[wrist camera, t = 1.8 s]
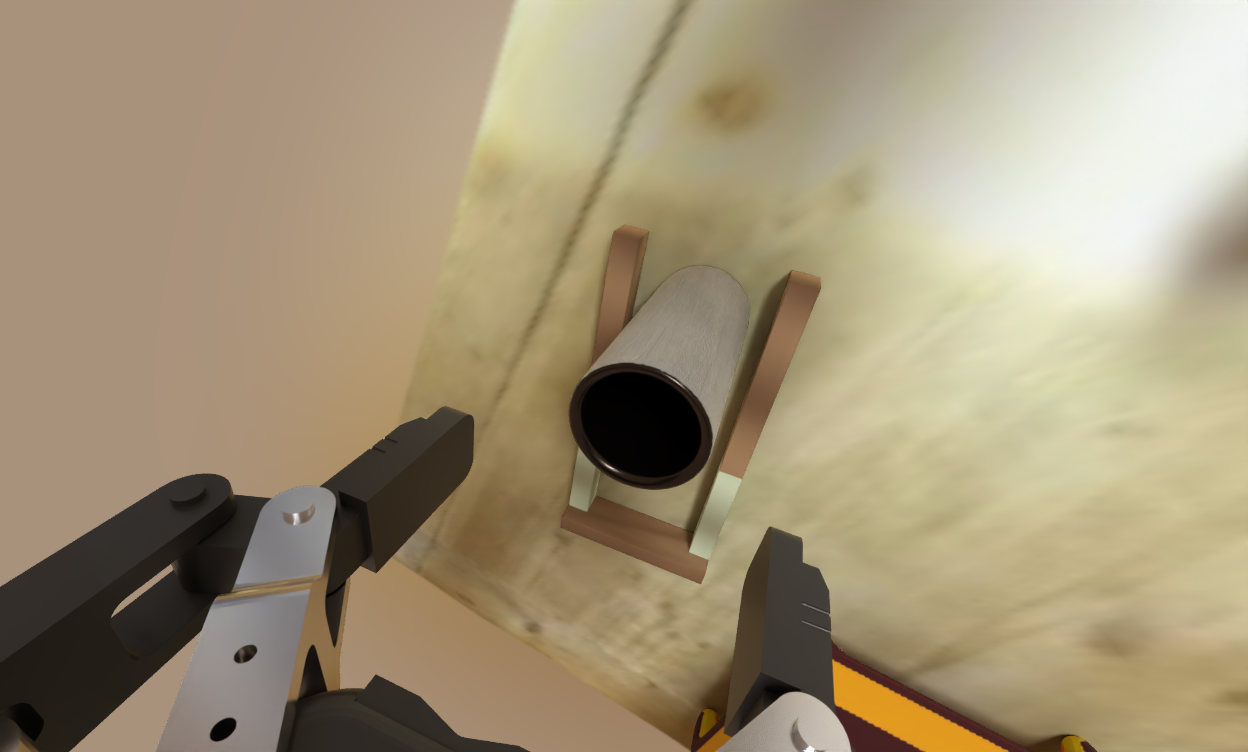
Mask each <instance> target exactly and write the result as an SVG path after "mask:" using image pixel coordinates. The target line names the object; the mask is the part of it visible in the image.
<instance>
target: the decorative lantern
mask: <svg viewBox="0 0 1248 752" xmlns="http://www.w3.org/2000/svg"><path fill="white" fill-rule="evenodd" d="M830 635H831V634H830ZM831 641H832V661H833V681H834V701H835V710H836V714H837V718H838V719H839V721H840V723H841V724H842V726H843V728H844V730H845V732H846V734H847V737H848V740H849V742H850V744H851V745H852V747H853V748H854V749H855V751H856V752H1032V751H1030V750H1028V749H1026V748H1024V747H1022V746H1020V745H1018V744H1016V743H1014V742H1012V741H1010V740H1008V739H1006V738H1005V737H1003V736H1001V735H999V734H997V733H995V732H993V731H991V730H989V729H987V728H985V727H983V726H981V725H979V724H978V723H976V722H974V721H972V720H970V719H968V718H966V717H964V716H962V715H960V714H958V713H956V712H954V711H952V710H951V709H949V708H947V707H945V706H943V705H941V704H939V703H937V702H935V701H933V700H931V699H929V698H927V697H925V696H924V695H922V694H920V693H918V692H916V691H914V690H912V689H910V688H908V687H906V686H904V685H902V684H900V683H898V682H897V681H895V680H893V679H891V678H889V677H887V676H885V675H883V674H881V673H879V672H877V671H875V670H873V669H871V668H870V667H868V666H866V665H864V664H862V663H860V662H858V661H856V660H854V659H852V658H851V657H849V656H848V655H846V654H845V653H844V652H842V651H841V650H840V649H839V648H838V647H837V646H836V645H835V643H834V641H833V639H832V637H831ZM725 718H726V715H725V716H724V717H723V718H722V719H721V720H720V721H719V720H718V716H717V714H716V713H715V711H714V710H712V709H705V710H703V711H702V712H701V714H700V715H699V717H698V720H697V723H696V726H695V730H694V735H693V741H692V746H691V752H715V751H717V750H718V749H719V748H720V747H721V746H723V745H724V744H725V743H726V742H727V741H729V740H730V739H731V738H732V737H730V736H728V735H726V734H724V726H725ZM1061 752H1097V751H1096V750H1095V749H1094V748H1093V747H1092V746H1091V745H1090V744H1089V743H1088V742H1087V741H1086V740H1084V739H1081V738H1079V737H1077V736H1067V737H1065V738H1064V739H1063V741H1062V743H1061Z"/></svg>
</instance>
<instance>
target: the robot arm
mask: <svg viewBox="0 0 1248 752" xmlns="http://www.w3.org/2000/svg"><path fill="white" fill-rule="evenodd" d="M473 446H474V419H473V417H472V416H471V415H469V414H467V413H464V412H461V411H458V410H456V409H453V408H450V407H447V406H445V407H442V408H440V409H439V410H438V411H437V412H435V413H434V414H433V415H432V416H430V417H429V418H428V419H424V418H421V417H420V418H418V419H415V420H412V421H410V422H407V423H405V424H402V425H400V426H399V427H397V428H396V429H395V430H394V431H392V432H391V433H390V434H388V435H387V436H386V437H385V439H384V440H383V439H382V440H380V441H379V442H378V443H377V444H375V445H374V446H373V448H372V449H369V450H367V451H366V452H365V453H363V454H362V455H361V456H359V457H358V458H357V459H355V460H354V461H353V462H352V463H350V464H349V465H348V466H346V467H345V468H344V469H342V470H341V471H340V472H338V473H337V474H336V475H334V476H333V477H332V478H330V479H329V480H328V481H327V482H325V483H324V484H323V485H321V486H320V487H319V486H301V487H296V488H292V489H289V490H286V491H284V492H282V493H280V494H278V495H276V496H275V497H273V498H263V497H253V496H243V495H234V494H233V491H232V488H231V485H230V483H229V481H228V480H227V479H226V478H224V477H222V476H220V475H216V474H195V475H190V476H186V477H182V478H180V479H177V480H174V481H172V482H170V483H168V484H166V485H164V486H162V487H161V488H159V489H158V490H156V491H154V492H153V493H151V494H149V495H148V496H146V497H144V498H143V499H141V500H140V501H138V502H136V503H135V504H133V505H132V506H130V507H128V508H127V509H125V510H124V511H122V512H120V513H119V514H117V515H115V516H114V517H112V518H111V519H109V520H107V521H106V522H104V523H103V524H101V525H99V526H98V527H96V528H94V529H93V530H91V531H90V532H88V533H86V534H85V535H83V536H81V537H80V538H78V539H77V540H75V541H73V542H72V543H70V544H69V545H67V546H65V547H64V548H62V549H61V550H59V551H57V552H56V553H54V554H53V555H51V556H49V557H48V558H46V559H44V560H43V561H41V562H40V563H38V564H36V565H35V566H33V567H31V568H30V569H28V570H27V571H25V572H24V573H22V574H20V575H19V576H17V577H15V578H14V579H12V580H10V581H9V582H8V583H6V584H4V585H2V586H1V587H0V752H69V751H70V750H72V749H73V748H74V747H75V746H76V745H77V744H78V743H79V742H80V741H81V740H83V739H84V738H85V737H86V736H87V735H88V734H89V733H90V732H91V731H92V730H93V729H95V728H96V727H97V726H98V725H99V724H100V723H101V722H102V721H103V720H104V719H105V718H107V717H108V716H109V715H110V714H111V713H112V712H113V711H114V710H115V709H116V708H117V707H119V706H120V705H121V704H122V703H123V702H124V701H125V700H126V699H127V698H128V697H130V696H131V695H132V694H133V693H134V692H135V691H136V690H137V689H138V688H139V687H140V686H142V685H143V684H144V683H145V682H146V681H147V680H148V679H149V678H150V677H151V676H152V675H153V674H155V673H156V672H157V671H158V670H159V669H160V668H161V667H162V666H163V665H164V664H165V663H167V662H168V661H169V660H170V659H171V658H172V657H173V656H174V655H175V654H176V653H177V652H178V651H180V650H181V649H182V648H183V647H184V646H185V645H186V644H187V643H188V642H190V641H191V640H192V639H193V638H194V637H195V636H196V635H197V634H198V633H199V632H200V631H201V634H200V636H199V639H198V641H197V644H196V647H195V649H194V652H193V655H192V657H191V661H190V663H189V665H188V668H187V670H186V673H185V676H184V678H183V681H182V684H181V686H180V689H179V691H178V694H177V697H176V700H175V702H174V705H173V707H172V710H171V712H170V715H169V718H168V720H167V723H166V726H165V728H164V731H163V733H162V736H161V739H160V741H159V744H158V747H157V749H156V752H529V751H527V750H525V749H523V748H521V747H520V746H516V745H509V744H503V743H496V742H489V741H483V740H476V739H469V738H464V737H461V736H459V735H457V734H456V733H455V732H454V731H453V730H452V729H451V728H450V727H449V726H448V725H447V724H446V723H445V722H444V721H443V720H442V719H441V718H440V717H439V716H438V715H437V713H436V712H434V710H433V709H432V708H431V707H430V706H429V705H428V704H427V703H426V702H425V701H424V700H423V699H422V698H421V697H420V696H418V695H416V694H414V693H412V692H410V691H408V690H406V689H404V688H402V687H400V686H398V685H396V684H394V683H392V682H390V681H388V680H386V679H384V678H382V677H380V676H378V675H375V676H374V677H373V679H372V680H371V681H370V682H369V684H368V685H367V687H366V688H365V689H361V688H350V689H349V688H346V689H340V653H341V645H342V638H343V631H344V624H345V617H346V610H347V603H348V596H349V588H350V575H352V574H353V573H354V572H355V571H356V570H357V569H358V568H359V566H362V567H364V568H366V569H369V570H370V571H373V572H375V573H377V572H378V571H379V570H380V569H381V567H383V566H384V564H385V563H386V562H387V561H388V560H389V559H390V558H391V557H392V556H393V555H394V554H395V553H396V552H397V551H398V550H399V549H400V547H401V546H402V545H403V544H404V543H405V542H406V541H407V540H408V539H409V538H410V537H411V536H412V535H413V534H414V533H415V532H416V530H417V529H418V528H419V527H420V526H421V525H422V524H423V523H424V522H425V521H426V520H427V519H428V518H429V517H430V516H431V515H432V513H433V512H434V511H435V510H436V509H437V508H438V507H439V506H440V505H441V504H442V503H443V502H444V501H445V500H446V499H447V497H448V496H449V495H450V494H451V493H452V492H453V491H454V490H455V489H456V488H457V487H458V486H459V485H460V484H461V483H462V482H463V480H464V479H465V478H466V476H467V475H468V473H469V471H470V469H471V466H472V463H473ZM170 564H171V565H172V567H173V569H174V570H173V571H172V572H170V573H169V574H168V575H166V576H165V577H164V578H162V579H161V580H160V581H159V582H158V583H156V584H155V585H153V586H152V587H151V588H150V589H148V590H147V591H146V592H144V593H143V594H142V595H141V596H139V597H138V598H137V599H135V600H134V601H133V602H132V603H130V604H129V605H127V606H126V607H125V608H124V609H122V610H121V611H120V612H119V613H117V614H116V615H114V616H113V617H112V618H111V616H112V614H113V612H114V610H115V609H116V607H117V606H118V605H119V604H120V603H121V602H122V601H123V600H124V599H125V598H127V597H128V596H129V595H130V594H132V593H133V592H134V591H136V590H137V589H138V588H140V587H141V586H142V585H144V584H145V583H146V582H148V581H149V580H150V579H152V578H153V577H154V576H155V575H157V574H158V573H159V572H161V571H162V570H163V569H165V568H166V567H167V566H169V565H170ZM829 614H830V600H829V590H828V588H827V585H826V583H825V581H824V579H823V577H822V574H821V572H820V570H819V569H818V568H816V567H813V566H810V565H808V564H805V563H803V542H802V538H801V537H798V536H795V535H792V534H790V533H787V532H784V531H781V530H779V529H776V528H773V527H769V528H768V530H767V531H766V533H765V535H764V538H763V540H762V542H761V544H760V546H759V548H758V550H757V552H756V554H755V556H754V558H753V560H752V563H751V565H750V567H749V569H748V572H747V575H746V578H745V582H744V586H743V591H742V598H741V605H740V613H739V620H738V628H737V635H736V643H735V650H734V658H733V665H732V673H731V680H730V688H729V696H728V703H727V711H726V718H725V726H724V734H726V735H728V736H730V737H732V738H731V739H730V740H729V741H727V742H726V743H725V744H724V745H723V746H721V747H720V748H719V749H718V750H717V751H715V752H856V751H855V749H854V748H853V747H852V745H851V744H850V742H849V740H848V737H847V734H846V732H845V730H844V728H843V726H842V724H841V723H840V721H839V719H838V718H837V714H836V710H835V701H834V681H833V661H832V641H831V635H830V632H831V621H830V617H829Z"/></svg>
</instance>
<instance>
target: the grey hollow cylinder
mask: <svg viewBox="0 0 1248 752" xmlns="http://www.w3.org/2000/svg"><path fill="white" fill-rule="evenodd" d="M748 323H749V303H748V300H747V297H746V294H745V292H744V290H743V289H742V287H741V286H740V285H739V283H738V282H737V281H736V280H735V279H734V278H733V277H732V276H730V275H729V274H727V273H726V272H724V271H722V270H720V269H717V268H714V267H710V266H702V265H700V266H690V267H686V268H683V269H681V270H679V271H677V272H675V273H674V274H672V275H671V276H670V277H669V278H667V279H666V280H665V281H664V282H663V283H662V284H661V285H660V287H659V288H658V289H657V290H656V291H655V292H654V294H653V295H652V296H651V297H650V298H649V300H648V301H647V302H646V303H645V304H644V305H643V307H642V308H641V309H640V310H639V311H638V313H637V314H636V315H635V316H634V317H633V318H632V320H631V321H630V322H629V323H628V324H627V326H626V327H625V328H624V329H623V330H622V331H621V333H620V334H619V335H618V336H617V337H616V338H615V340H614V341H613V342H612V343H611V344H610V346H609V347H608V348H607V349H606V350H605V351H604V353H603V354H602V355H601V356H600V357H599V359H598V360H597V361H596V362H595V363H594V364H593V366H592V367H591V368H590V369H589V370H588V372H587V373H586V374H585V375H584V376H583V378H582V379H581V380H580V381H579V383H578V384H577V386H576V387H575V389H574V391H573V393H572V396H571V399H570V404H569V422H570V427H571V431H572V434H573V437H574V439H575V441H576V443H577V445H578V446H579V448H580V450H581V451H582V453H583V454H584V455H585V456H586V458H587V459H588V460H589V461H590V462H591V463H592V464H593V465H594V466H595V467H596V468H598V469H599V470H600V471H601V472H603V473H604V474H606V475H607V476H609V477H610V478H612V479H614V480H616V481H618V482H621V483H623V484H626V485H629V486H632V487H636V488H641V489H649V490H661V489H668V488H673V487H676V486H679V485H682V484H684V483H686V482H688V481H690V480H691V479H693V478H694V477H695V476H696V475H698V474H699V473H700V472H701V471H702V469H703V468H704V467H705V465H706V464H707V462H708V460H709V458H710V456H711V453H712V450H713V446H714V443H715V440H716V436H717V433H718V429H719V426H720V422H721V419H722V415H723V412H724V408H725V405H726V401H727V398H728V394H729V391H730V387H731V384H732V380H733V377H734V373H735V370H736V366H737V363H738V359H739V356H740V352H741V349H742V345H743V342H744V338H745V335H746V331H747V328H748Z"/></svg>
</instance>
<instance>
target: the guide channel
mask: <svg viewBox="0 0 1248 752" xmlns="http://www.w3.org/2000/svg"><path fill="white" fill-rule="evenodd" d="M648 234H649V231H645V230H642V229H638V228H634V227H630V226H627V225H623V226H622V227H620V228H618V229H617V230H615V231H614V232H613V237H612V243H611V249H610V255H609V261H608V267H607V274H606V280H605V286H604V292H603V298H602V305H601V311H600V317H599V323H598V329H597V336H596V342H595V348H594V354H593V360H592V366H593V364H594V363H595V362H596V361H597V360H598V359H599V357H600V356H601V355H602V354H603V353H604V351H605V350H606V349H607V348H608V347H609V346H610V344H611V343H612V342H613V341H614V340H615V338H616V337H617V336H618V335H619V334H620V333H621V331H622V330H623V329H624V328H625V327H626V326H627V324H628V323H629V322H630V321H631V319H632V314H633V309H634V304H635V299H636V294H637V289H638V284H639V279H640V274H641V269H642V264H643V259H644V254H645V249H646V244H647V239H648ZM820 289H821V282H820V277H816V276H812V275H808V274H805V273H801V272H797V271H794V270H792V271H791V274H790V277H789V279H788V282H787V285H786V287H785V290H784V293H783V296H782V298H781V301H780V304H779V306H778V309H777V312H776V314H775V317H774V320H773V322H772V325H771V328H770V330H769V333H768V336H767V338H766V341H765V344H764V347H763V349H762V352H761V355H760V357H759V360H758V363H757V365H756V368H755V371H754V373H753V376H752V379H751V381H750V384H749V387H748V390H747V392H746V395H745V398H744V400H743V403H742V406H741V408H740V411H739V414H738V416H737V419H736V422H735V424H734V427H733V430H732V432H731V435H730V438H729V441H728V443H727V446H726V449H725V451H724V454H723V457H722V459H721V462H720V465H719V467H718V470H717V473H716V475H715V478H714V481H713V483H712V486H711V489H710V492H709V494H708V497H707V500H706V502H705V505H704V508H703V510H702V513H701V516H700V518H699V521H698V524H697V526H696V529H695V532H694V533H691V532H689V531H686V530H684V529H681V528H678V527H676V526H673V525H671V524H668V523H665V522H663V521H660V520H658V519H655V518H652V517H650V516H647V515H645V514H642V513H639V512H637V511H634V510H632V509H629V508H627V507H624V506H621V505H619V504H616V503H614V502H611V501H608V500H606V499H603V498H601V497H598V496H596V493H597V488H598V483H599V478H600V473H601V471H600V470H599V469H598V468H596V467H595V466H594V465H593V464H592V463H591V462H590V461H589V460H588V459H587V458H586V456H585V455H584V454H583V453H582V451H581V450H580V448H579V447H578V453H577V459H576V465H575V472H574V478H573V484H572V490H571V496H570V502H569V506H568V508H567V509H566V511H565V512H564V514H563V516H562V521H561V528H563V529H566V530H568V531H571V532H573V533H576V534H578V535H580V536H583V537H585V538H588V539H590V540H593V541H595V542H598V543H600V544H603V545H605V546H608V547H610V548H613V549H615V550H617V551H620V552H622V553H625V554H627V555H630V556H632V557H635V558H637V559H640V560H642V561H645V562H647V563H650V564H652V565H654V566H657V567H659V568H662V569H664V570H667V571H669V572H672V573H674V574H677V575H679V576H682V577H684V578H687V579H689V580H692V581H694V582H696V583H699V584H701V583H702V581H703V578H704V576H705V573H706V569H707V564H708V560H709V558H710V555H711V553H712V550H713V548H714V545H715V543H716V541H717V538H718V536H719V533H720V531H721V529H722V526H723V524H724V521H725V519H726V516H727V514H728V512H729V509H730V507H731V504H732V502H733V500H734V497H735V495H736V492H737V490H738V487H739V485H740V483H741V480H742V478H743V475H744V473H745V471H746V468H747V466H748V463H749V461H750V459H751V456H752V454H753V451H754V449H755V446H756V444H757V442H758V439H759V437H760V434H761V432H762V430H763V427H764V425H765V422H766V420H767V417H768V415H769V413H770V410H771V408H772V405H773V403H774V401H775V398H776V396H777V393H778V391H779V388H780V386H781V384H782V381H783V379H784V376H785V374H786V372H787V369H788V367H789V364H790V362H791V360H792V357H793V355H794V352H795V350H796V347H797V345H798V343H799V340H800V338H801V335H802V333H803V331H804V328H805V326H806V323H807V321H808V318H809V316H810V314H811V311H812V309H813V306H814V304H815V302H816V299H817V297H818V294H819V292H820ZM592 366H591V367H592Z"/></svg>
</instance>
